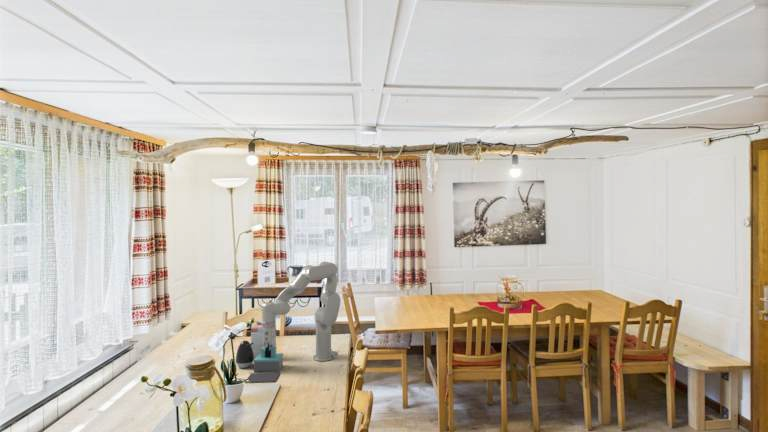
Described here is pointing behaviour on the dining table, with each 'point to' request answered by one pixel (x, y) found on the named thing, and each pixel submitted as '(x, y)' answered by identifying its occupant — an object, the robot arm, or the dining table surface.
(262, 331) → the cracker box
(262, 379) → the mat
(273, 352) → the lid
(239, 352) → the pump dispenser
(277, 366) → the tub
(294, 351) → the dining table surface
